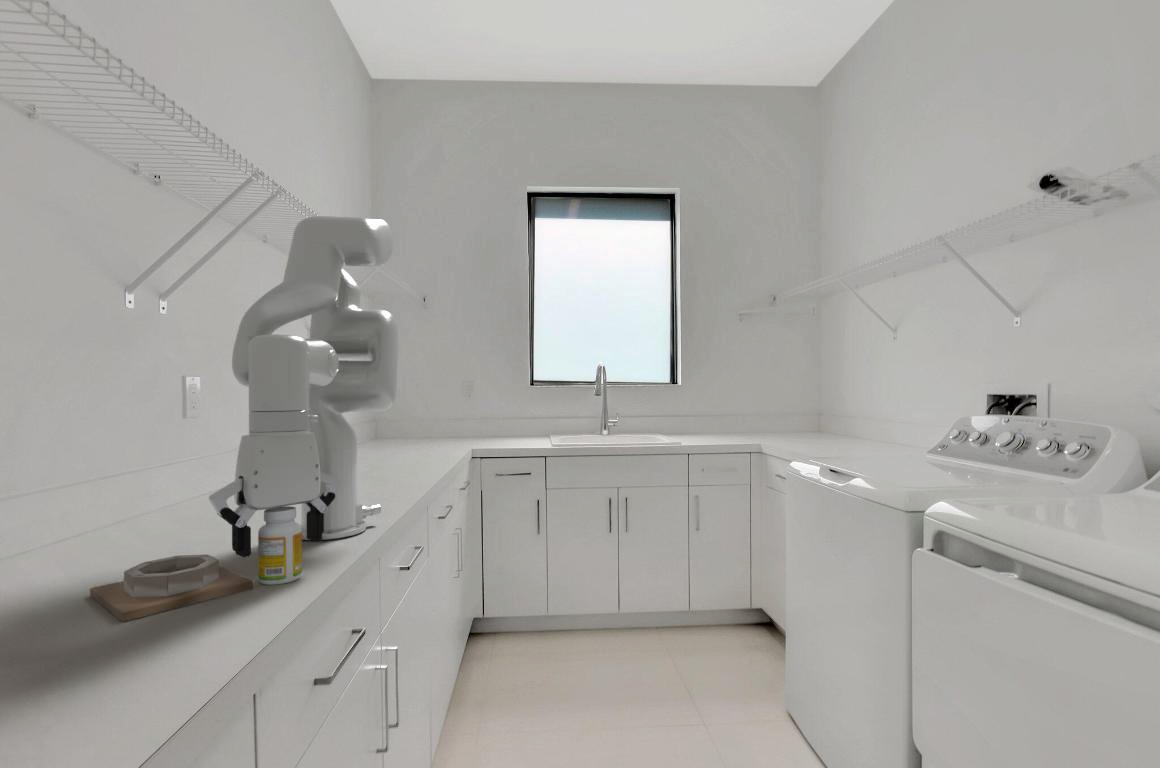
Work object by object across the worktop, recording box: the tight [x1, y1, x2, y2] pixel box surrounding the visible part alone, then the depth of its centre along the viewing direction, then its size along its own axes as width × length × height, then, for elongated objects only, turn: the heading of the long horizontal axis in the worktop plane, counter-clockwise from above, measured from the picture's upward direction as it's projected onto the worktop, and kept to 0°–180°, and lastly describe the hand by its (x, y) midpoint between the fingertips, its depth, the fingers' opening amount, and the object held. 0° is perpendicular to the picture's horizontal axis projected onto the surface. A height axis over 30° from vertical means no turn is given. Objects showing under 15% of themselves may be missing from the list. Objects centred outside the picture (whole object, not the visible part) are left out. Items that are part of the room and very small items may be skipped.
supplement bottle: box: [257, 506, 303, 586], centre depth 81 cm, size 5×5×10 cm
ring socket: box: [89, 554, 254, 623], centre depth 76 cm, size 14×14×4 cm
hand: (280, 547), depth 81 cm, fingers open, 9 cm apart
